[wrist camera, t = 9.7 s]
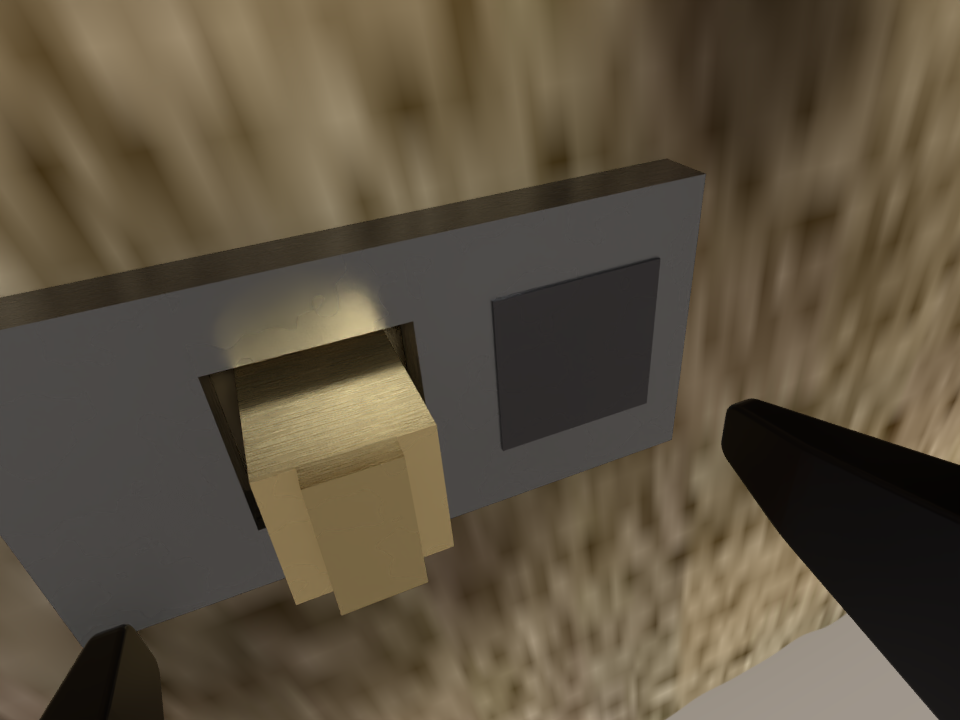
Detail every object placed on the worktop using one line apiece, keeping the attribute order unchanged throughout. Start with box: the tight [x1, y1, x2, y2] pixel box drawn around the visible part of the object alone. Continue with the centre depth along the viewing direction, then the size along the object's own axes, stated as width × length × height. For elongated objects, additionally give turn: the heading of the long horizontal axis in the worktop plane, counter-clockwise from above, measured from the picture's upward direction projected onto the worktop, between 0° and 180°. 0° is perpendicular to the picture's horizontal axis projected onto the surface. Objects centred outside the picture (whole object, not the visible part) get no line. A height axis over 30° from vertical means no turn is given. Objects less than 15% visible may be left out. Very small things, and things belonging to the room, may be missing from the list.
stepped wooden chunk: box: [234, 329, 454, 616], centre depth 18 cm, size 4×5×7 cm
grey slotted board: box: [0, 159, 706, 648], centre depth 20 cm, size 22×11×2 cm, turn 95°
